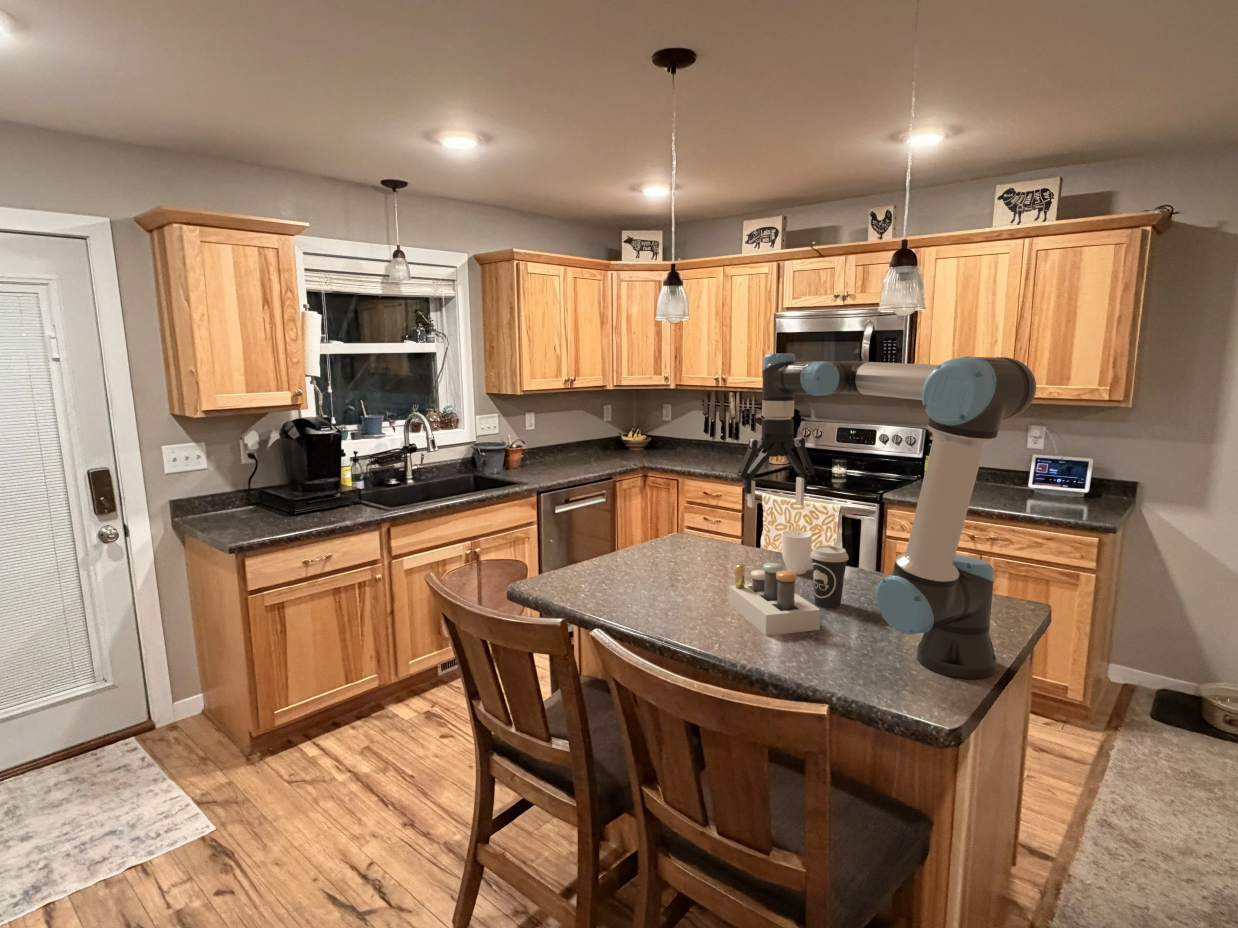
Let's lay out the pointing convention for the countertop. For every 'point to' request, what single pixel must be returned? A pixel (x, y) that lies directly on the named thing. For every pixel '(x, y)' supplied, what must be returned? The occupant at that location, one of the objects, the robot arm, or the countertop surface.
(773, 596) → the knob
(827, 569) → the coffee cup
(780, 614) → the panel
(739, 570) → the cylinder
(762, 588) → the knob
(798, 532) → the mug
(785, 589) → the knob
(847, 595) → the countertop surface
